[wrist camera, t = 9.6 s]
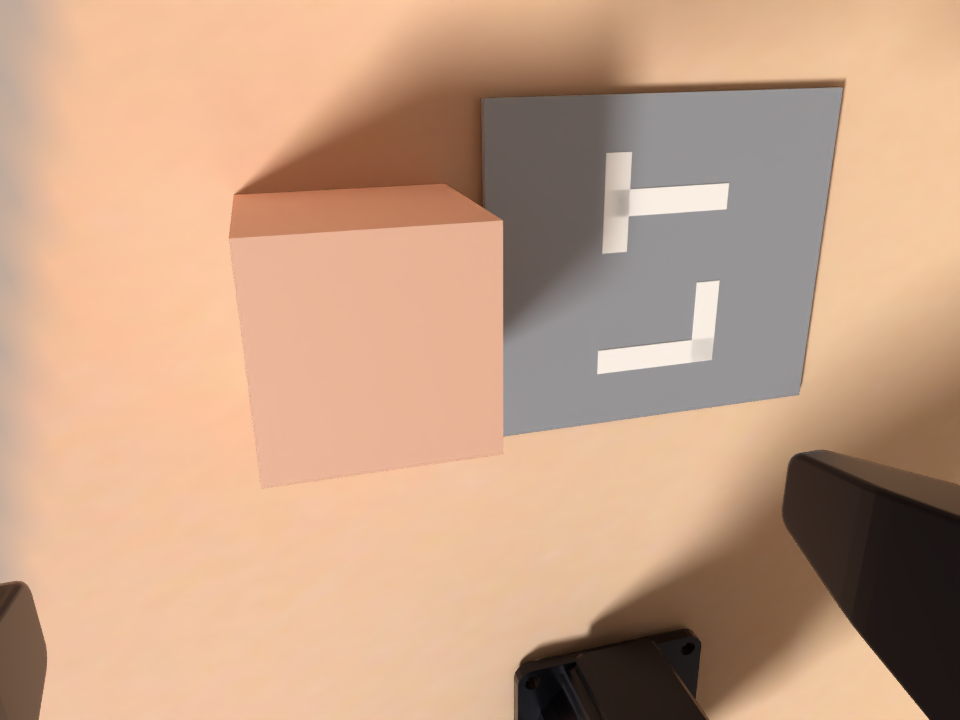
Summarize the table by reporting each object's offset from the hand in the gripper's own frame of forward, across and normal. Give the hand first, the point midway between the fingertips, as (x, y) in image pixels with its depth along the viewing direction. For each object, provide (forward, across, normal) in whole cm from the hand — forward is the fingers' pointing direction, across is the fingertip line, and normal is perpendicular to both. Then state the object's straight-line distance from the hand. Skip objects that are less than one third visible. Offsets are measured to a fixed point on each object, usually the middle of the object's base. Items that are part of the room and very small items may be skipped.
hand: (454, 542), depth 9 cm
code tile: (+12, -9, 0) cm, 14 cm away
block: (+12, 0, 0) cm, 12 cm away
